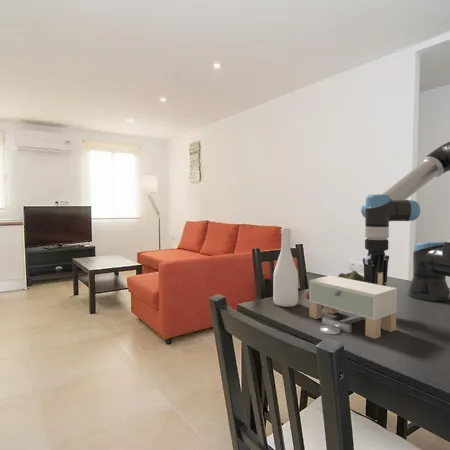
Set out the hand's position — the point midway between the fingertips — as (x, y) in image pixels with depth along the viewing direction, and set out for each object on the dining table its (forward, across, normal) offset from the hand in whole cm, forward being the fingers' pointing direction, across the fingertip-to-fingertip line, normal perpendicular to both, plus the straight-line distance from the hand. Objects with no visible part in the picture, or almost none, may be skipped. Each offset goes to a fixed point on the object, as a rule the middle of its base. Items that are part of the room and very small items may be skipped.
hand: (375, 304), depth 118 cm
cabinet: (+4, +15, 0) cm, 16 cm away
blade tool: (+4, +10, 0) cm, 11 cm away
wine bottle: (+4, +16, -28) cm, 32 cm away
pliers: (+4, +4, -22) cm, 23 cm away
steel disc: (+4, +26, 0) cm, 26 cm away
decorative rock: (+4, -19, -20) cm, 28 cm away
